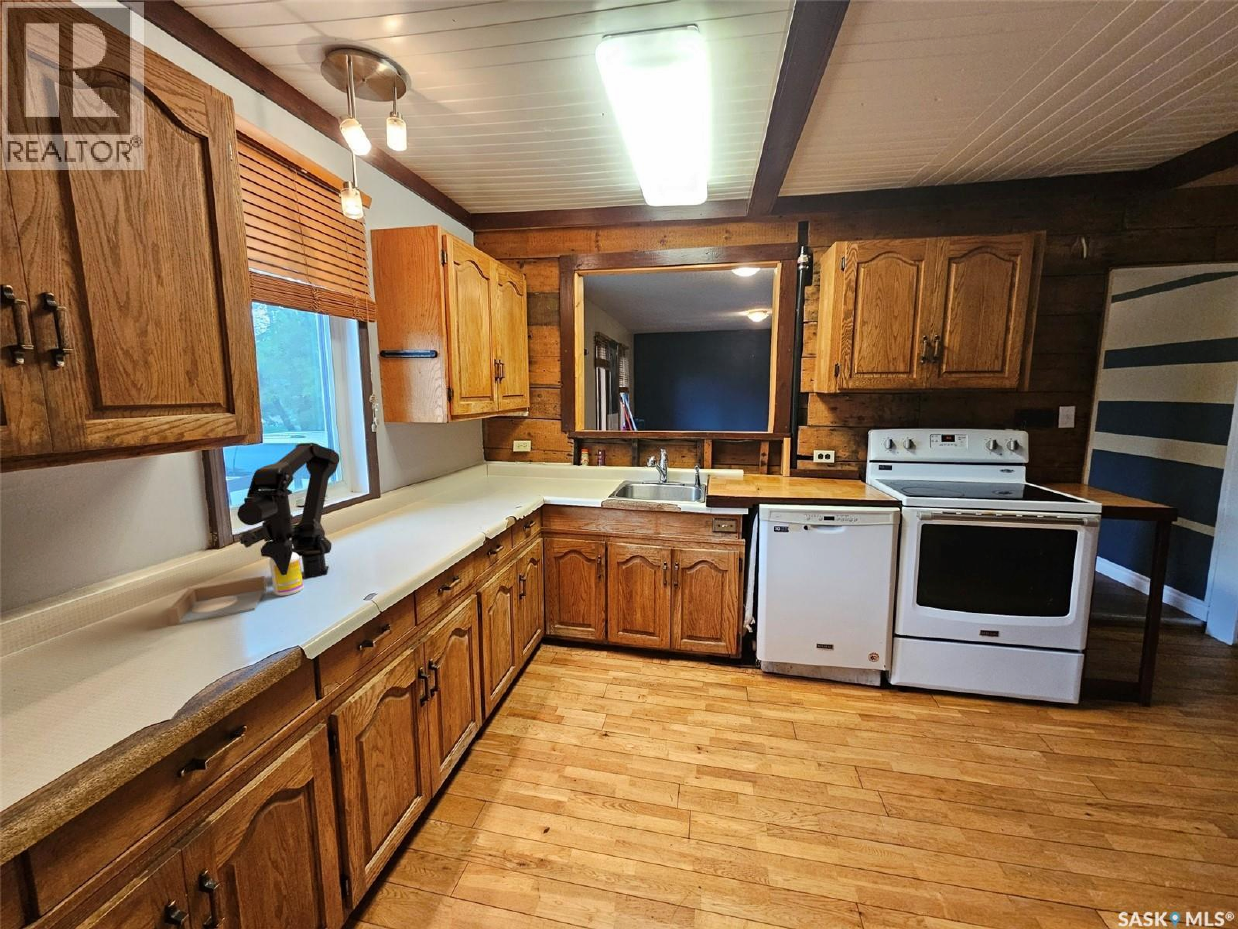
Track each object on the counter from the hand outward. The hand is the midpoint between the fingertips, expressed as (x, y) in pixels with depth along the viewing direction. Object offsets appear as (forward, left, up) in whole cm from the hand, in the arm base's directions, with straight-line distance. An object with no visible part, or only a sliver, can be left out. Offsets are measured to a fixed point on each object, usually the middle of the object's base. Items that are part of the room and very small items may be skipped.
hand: (286, 570), depth 129 cm
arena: (+2, -14, -6) cm, 15 cm away
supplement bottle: (0, 0, -6) cm, 6 cm away
